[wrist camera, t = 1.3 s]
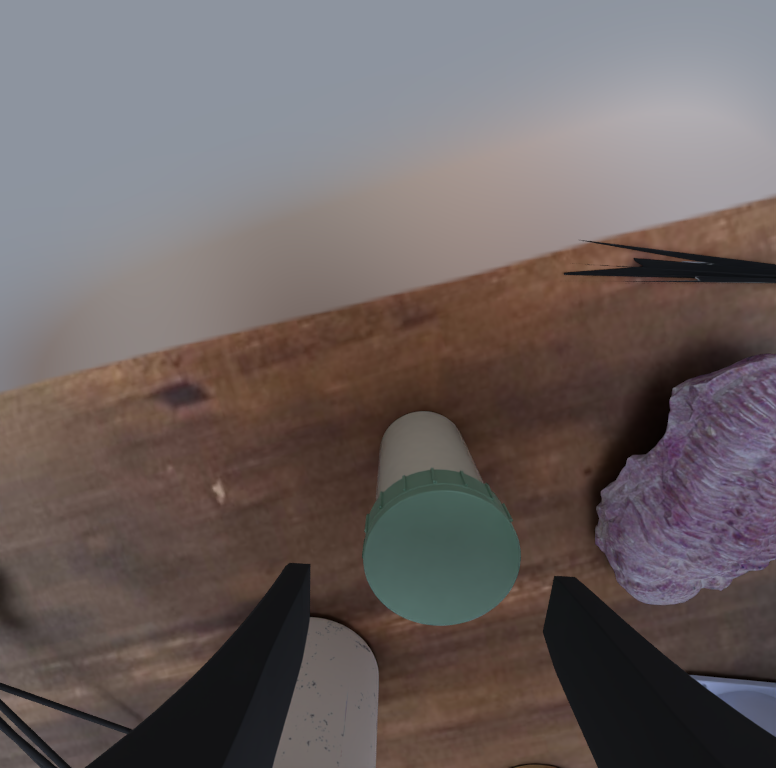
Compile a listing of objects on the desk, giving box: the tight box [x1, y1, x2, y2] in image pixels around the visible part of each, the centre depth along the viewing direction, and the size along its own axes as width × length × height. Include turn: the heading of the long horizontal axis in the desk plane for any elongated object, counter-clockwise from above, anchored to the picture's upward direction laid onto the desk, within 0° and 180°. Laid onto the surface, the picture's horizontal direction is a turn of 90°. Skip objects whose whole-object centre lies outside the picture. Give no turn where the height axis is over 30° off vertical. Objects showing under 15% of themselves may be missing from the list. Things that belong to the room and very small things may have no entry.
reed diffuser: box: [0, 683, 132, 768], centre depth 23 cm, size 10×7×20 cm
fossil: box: [595, 354, 776, 605], centre depth 18 cm, size 8×14×5 cm, turn 168°
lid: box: [362, 468, 521, 626], centre depth 13 cm, size 5×5×2 cm
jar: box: [376, 411, 484, 501], centre depth 17 cm, size 5×5×8 cm
